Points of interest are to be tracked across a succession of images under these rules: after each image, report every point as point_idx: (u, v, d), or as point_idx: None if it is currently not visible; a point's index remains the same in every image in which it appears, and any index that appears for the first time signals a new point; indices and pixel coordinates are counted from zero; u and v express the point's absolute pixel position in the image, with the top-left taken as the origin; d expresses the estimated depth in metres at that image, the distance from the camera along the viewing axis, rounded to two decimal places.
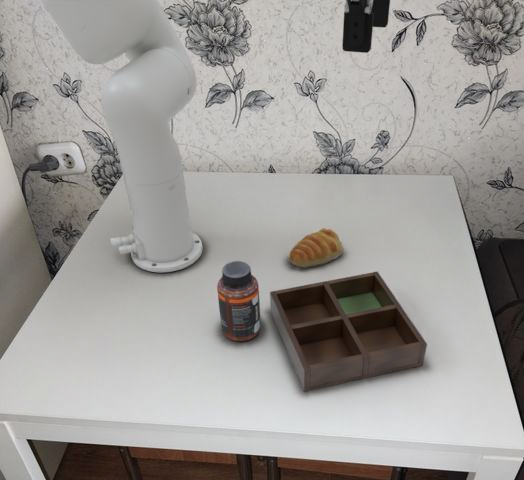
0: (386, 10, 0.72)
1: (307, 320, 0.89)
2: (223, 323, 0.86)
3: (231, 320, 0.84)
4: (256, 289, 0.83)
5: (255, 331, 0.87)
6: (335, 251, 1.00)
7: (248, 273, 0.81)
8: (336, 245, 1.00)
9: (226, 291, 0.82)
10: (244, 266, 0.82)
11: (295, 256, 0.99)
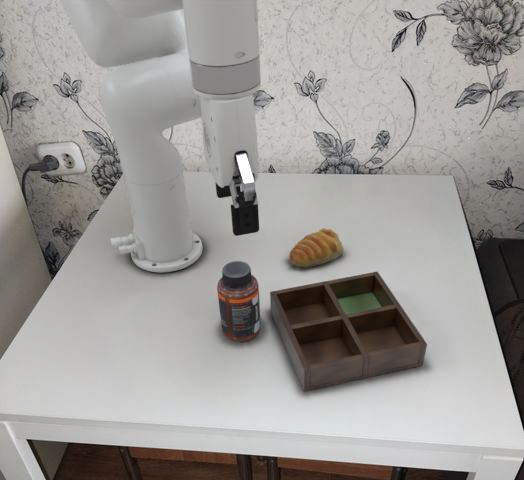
0: None
1: (307, 320, 0.89)
2: (223, 323, 0.86)
3: (231, 320, 0.84)
4: (256, 289, 0.83)
5: (255, 331, 0.87)
6: (335, 251, 1.00)
7: (248, 273, 0.81)
8: (336, 245, 1.00)
9: (226, 291, 0.82)
10: (244, 266, 0.82)
11: (295, 256, 0.99)
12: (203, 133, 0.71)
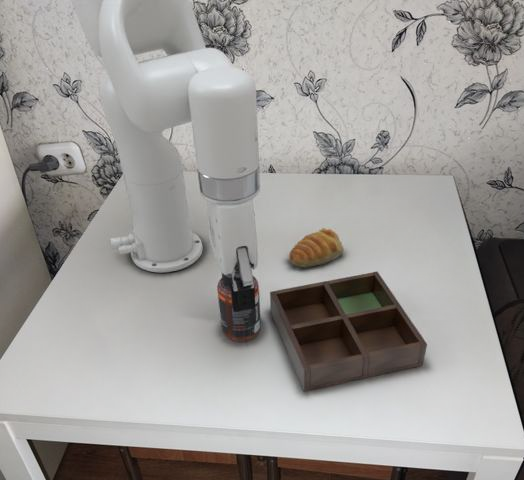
0: None
1: (307, 320, 0.89)
2: (223, 323, 0.86)
3: (231, 320, 0.84)
4: (256, 289, 0.83)
5: (255, 331, 0.87)
6: (335, 251, 1.00)
7: None
8: (336, 245, 1.00)
9: (226, 291, 0.82)
10: None
11: (295, 256, 0.99)
12: None
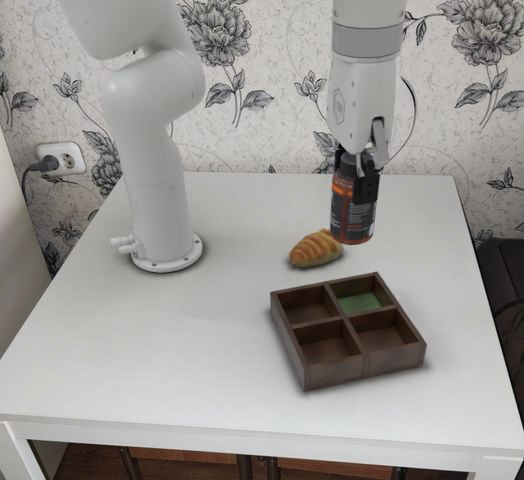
0: None
1: (307, 320, 0.89)
2: (335, 224, 0.77)
3: (346, 218, 0.76)
4: None
5: (370, 234, 0.78)
6: (335, 251, 1.00)
7: None
8: (336, 245, 1.00)
9: (346, 182, 0.73)
10: (365, 154, 0.73)
11: (295, 256, 0.99)
12: (330, 100, 0.70)
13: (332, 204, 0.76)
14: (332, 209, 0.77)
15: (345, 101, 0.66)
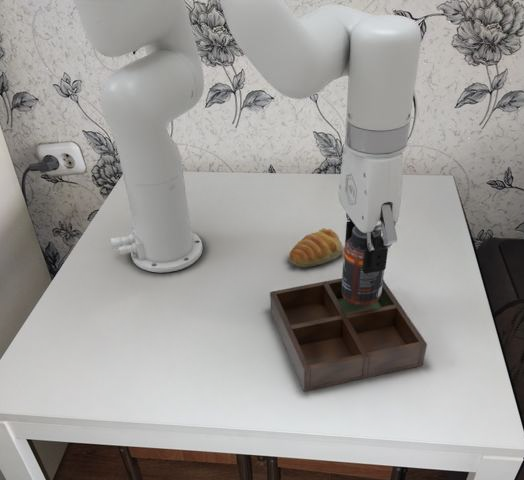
0: None
1: (307, 320, 0.89)
2: (347, 287, 0.85)
3: (357, 283, 0.83)
4: None
5: (378, 295, 0.86)
6: (335, 251, 1.00)
7: (380, 234, 0.80)
8: (336, 245, 1.00)
9: (357, 253, 0.81)
10: None
11: (295, 256, 0.99)
12: (343, 182, 0.78)
13: (344, 270, 0.84)
14: (344, 274, 0.85)
15: (357, 187, 0.73)
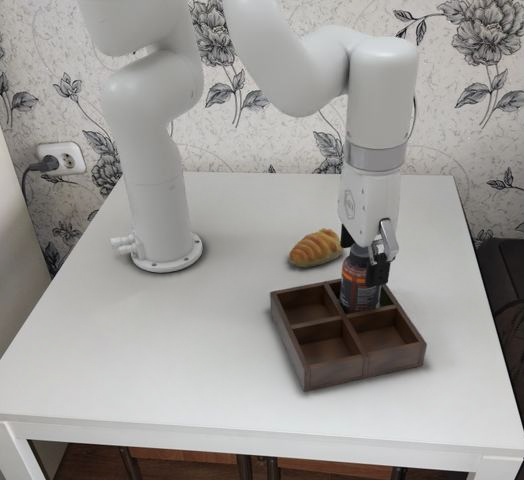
0: None
1: (307, 320, 0.89)
2: (345, 303, 0.87)
3: (355, 299, 0.85)
4: None
5: None
6: (335, 251, 1.00)
7: (377, 252, 0.82)
8: (336, 245, 1.00)
9: (355, 271, 0.83)
10: None
11: (295, 256, 0.99)
12: (341, 196, 0.79)
13: (342, 287, 0.86)
14: (342, 291, 0.87)
15: (355, 203, 0.75)
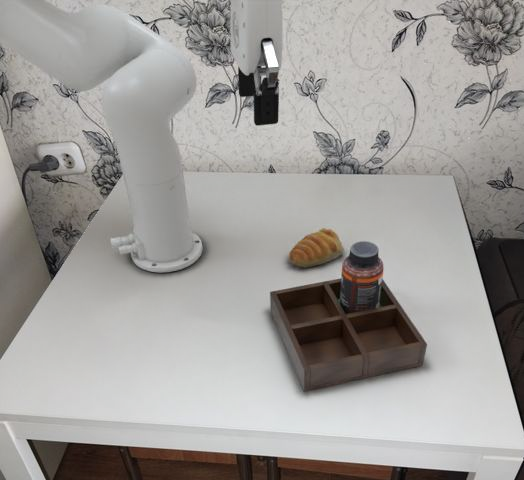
0: None
1: (307, 320, 0.89)
2: (345, 303, 0.87)
3: (355, 299, 0.85)
4: (382, 269, 0.84)
5: None
6: (335, 251, 1.00)
7: (377, 252, 0.82)
8: (336, 245, 1.00)
9: (355, 271, 0.83)
10: (372, 246, 0.83)
11: (295, 256, 0.99)
12: (231, 26, 0.76)
13: (342, 287, 0.86)
14: (342, 291, 0.87)
15: (238, 23, 0.71)
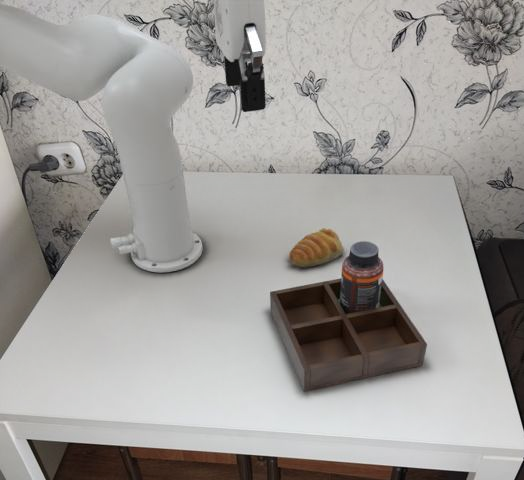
0: (246, 70, 0.84)
1: (307, 320, 0.89)
2: (345, 303, 0.87)
3: (355, 299, 0.85)
4: (382, 269, 0.84)
5: None
6: (335, 251, 1.00)
7: (377, 252, 0.82)
8: (336, 245, 1.00)
9: (355, 271, 0.83)
10: (372, 246, 0.83)
11: (295, 256, 0.99)
12: (215, 15, 0.77)
13: (342, 287, 0.86)
14: (342, 291, 0.87)
15: (221, 10, 0.72)
